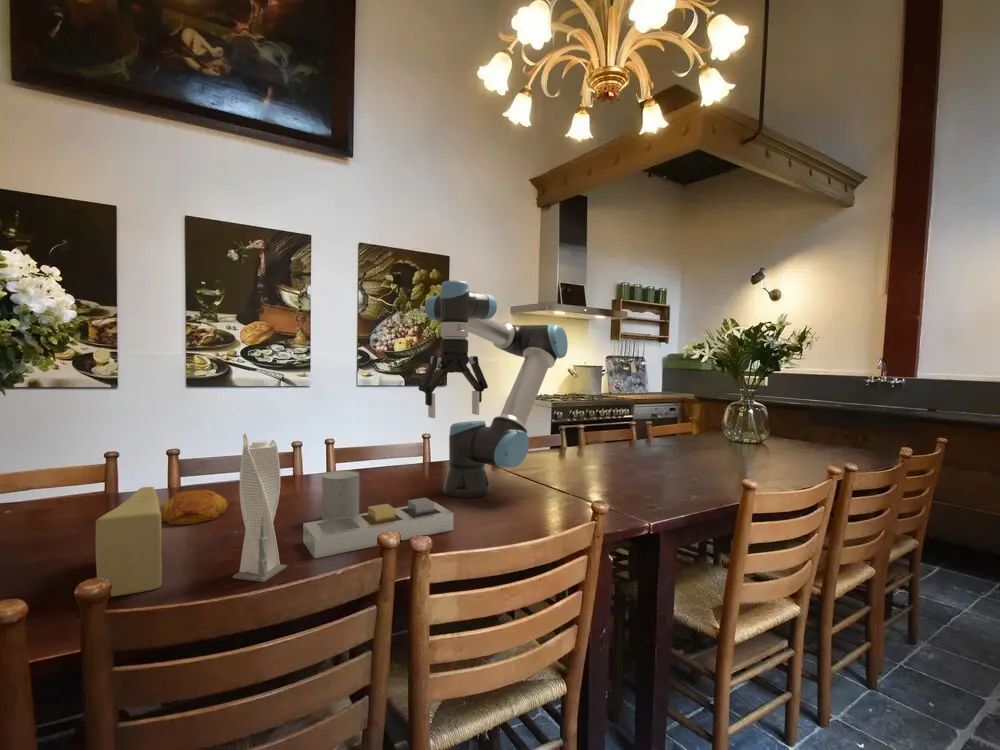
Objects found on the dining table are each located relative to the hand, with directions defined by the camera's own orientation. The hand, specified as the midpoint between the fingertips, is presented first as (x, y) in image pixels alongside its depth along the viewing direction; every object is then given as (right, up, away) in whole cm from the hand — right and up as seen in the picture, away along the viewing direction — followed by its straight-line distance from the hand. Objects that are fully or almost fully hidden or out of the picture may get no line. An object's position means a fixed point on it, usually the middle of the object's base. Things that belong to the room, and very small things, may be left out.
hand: (454, 416), depth 135 cm
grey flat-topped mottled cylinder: (-30, -28, -3) cm, 41 cm away
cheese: (-60, -29, -36) cm, 76 cm away
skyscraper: (-36, -29, -35) cm, 58 cm away
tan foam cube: (-16, -26, -15) cm, 34 cm away
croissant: (-70, -27, -3) cm, 75 cm away
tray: (-17, -28, -14) cm, 36 cm away
